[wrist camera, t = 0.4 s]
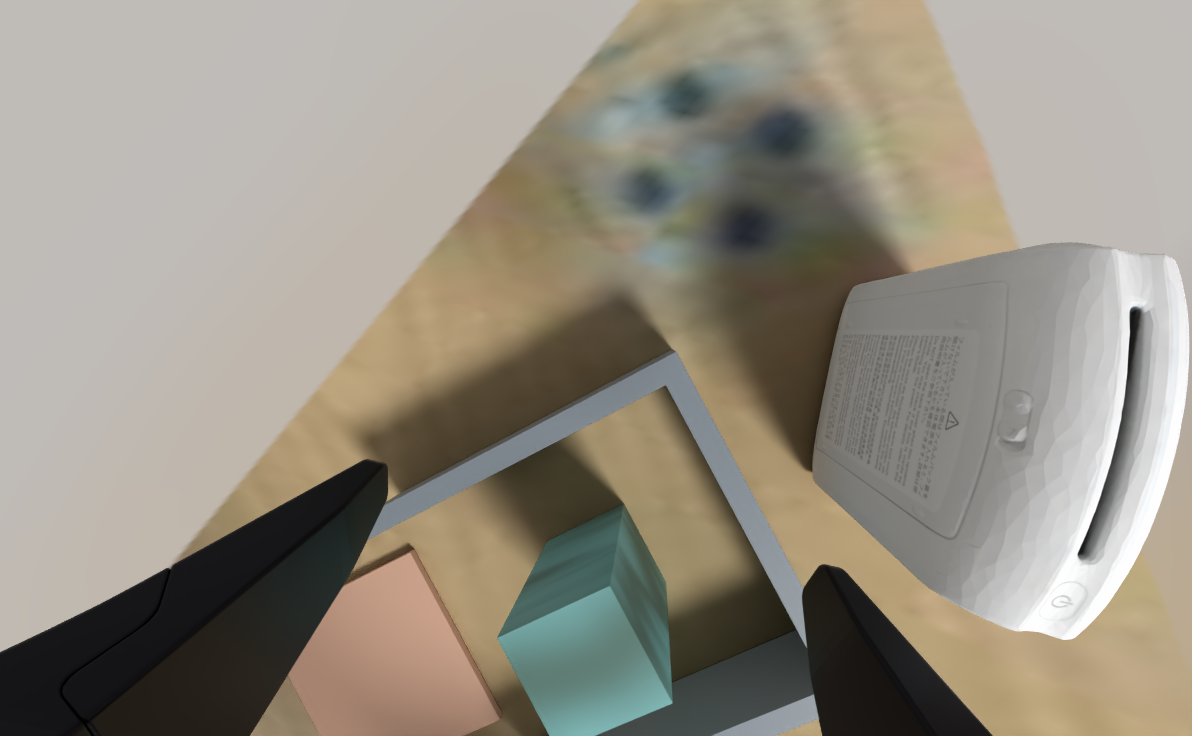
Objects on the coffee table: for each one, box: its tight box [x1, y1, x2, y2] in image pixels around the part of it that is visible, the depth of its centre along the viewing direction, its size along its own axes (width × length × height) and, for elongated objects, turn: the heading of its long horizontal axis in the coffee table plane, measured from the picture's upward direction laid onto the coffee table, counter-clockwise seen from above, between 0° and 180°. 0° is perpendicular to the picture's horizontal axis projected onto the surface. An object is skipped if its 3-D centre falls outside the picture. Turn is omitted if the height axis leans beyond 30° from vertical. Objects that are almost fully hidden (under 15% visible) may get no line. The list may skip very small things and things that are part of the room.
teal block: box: [497, 504, 673, 736], centre depth 20 cm, size 4×4×8 cm
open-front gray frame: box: [368, 349, 819, 736], centre depth 22 cm, size 16×16×4 cm
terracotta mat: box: [288, 549, 502, 736], centre depth 26 cm, size 10×10×1 cm
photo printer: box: [812, 243, 1189, 640], centre depth 16 cm, size 10×4×12 cm, turn 171°
